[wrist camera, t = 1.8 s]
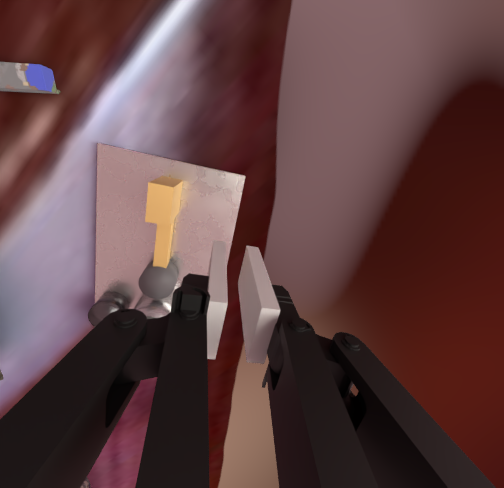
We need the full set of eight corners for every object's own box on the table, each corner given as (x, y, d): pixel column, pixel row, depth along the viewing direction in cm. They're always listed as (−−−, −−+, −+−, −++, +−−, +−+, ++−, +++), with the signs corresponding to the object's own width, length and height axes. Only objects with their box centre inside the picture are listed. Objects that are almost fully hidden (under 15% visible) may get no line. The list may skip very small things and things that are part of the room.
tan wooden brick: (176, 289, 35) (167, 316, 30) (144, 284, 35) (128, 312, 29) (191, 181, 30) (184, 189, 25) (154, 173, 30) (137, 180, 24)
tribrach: (101, 143, 29) (63, 142, 22) (244, 175, 32) (250, 183, 25) (97, 326, 37) (69, 366, 30) (211, 337, 40) (208, 376, 34)
